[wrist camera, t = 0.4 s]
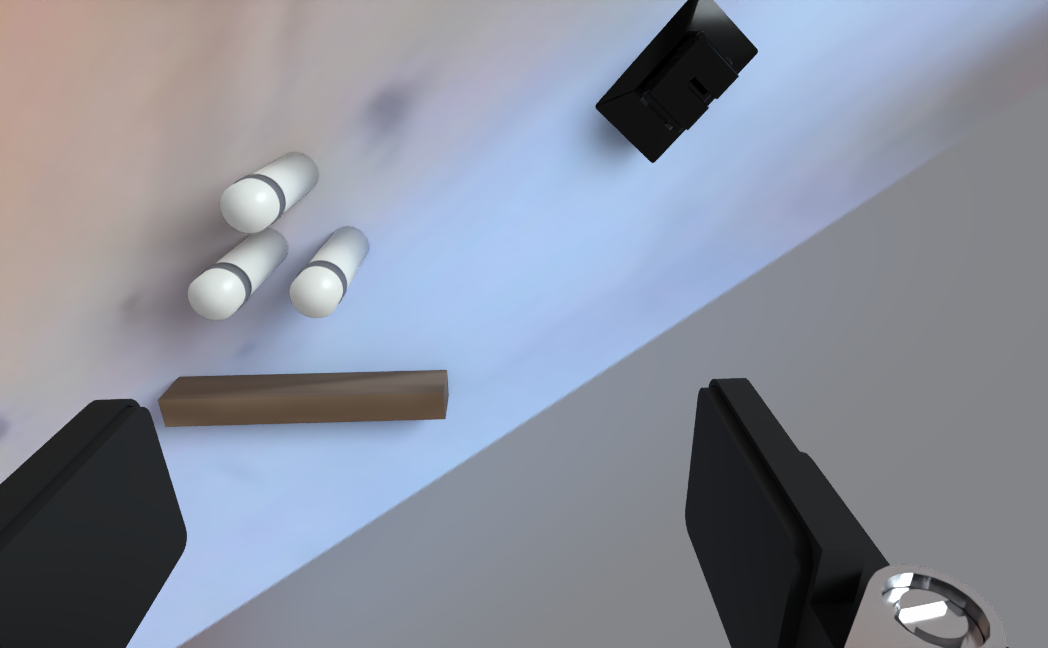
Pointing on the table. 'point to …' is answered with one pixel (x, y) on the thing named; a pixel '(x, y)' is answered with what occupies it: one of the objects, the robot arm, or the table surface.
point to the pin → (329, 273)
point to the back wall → (305, 398)
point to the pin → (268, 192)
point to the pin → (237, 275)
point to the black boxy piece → (677, 77)
